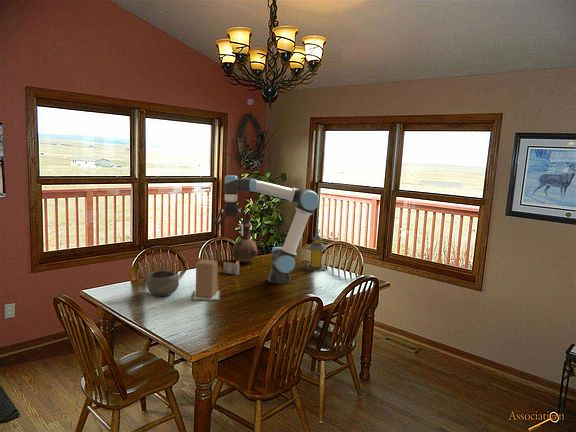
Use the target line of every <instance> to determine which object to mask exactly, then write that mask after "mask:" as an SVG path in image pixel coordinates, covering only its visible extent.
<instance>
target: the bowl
mask: <svg viewBox="0 0 576 432" xmlns="http://www.w3.org/2000/svg"><path fill="white" fill-rule="evenodd" d="M179 285H180V282H179V277H178V274H177V273H176V272H175V271H172V270H162V269H161V270H156V271H152V272H150V273H149V274H148V276H147V278H146V288H147V290H148V291H149V293H151V294H152V295H153V296H156V297H166V296H170V295H171V294H173V293H174V292H176V290H177V289H178V288H179Z"/></svg>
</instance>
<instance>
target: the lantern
mask: <svg viewBox="0 0 576 432" xmlns="http://www.w3.org/2000/svg"><path fill="white" fill-rule="evenodd" d="M315 232H316V235H315V236H314V237H313V238H312V241H313V242H312V243H310V244H309V245H308V246H307V250H310V264H309V263H308V264H307V265H306V267H305V270H306V271H313V272H315V271H316V272H326V267H327V266H326V265H323V251H327V246H326V245H325V244H324V243H323V242H322V241H323V238H322V237H321V236H320V235H319V233H320V232H321V230H320V229H318V228H316V230H315Z"/></svg>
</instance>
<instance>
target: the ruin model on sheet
mask: <svg viewBox="0 0 576 432" xmlns="http://www.w3.org/2000/svg"><path fill="white" fill-rule="evenodd" d="M222 265H223V266H222V267H223V270H222V273H223V274H229V275H235V276H238V275H240V261H239V260H236V261H235V263H234V262H228V261H227V262H226V261H224V262H223V263H222Z"/></svg>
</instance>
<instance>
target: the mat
mask: <svg viewBox="0 0 576 432" xmlns="http://www.w3.org/2000/svg"><path fill="white" fill-rule="evenodd" d="M190 300H191V302H208V301H209V302H221V290H217V293H216V294H215V295H214V296H213V297H212V298H207V297H198V296H196V290H193V291H192V296H191V299H190Z"/></svg>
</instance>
